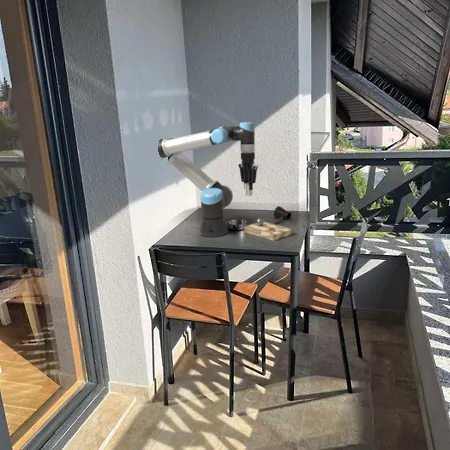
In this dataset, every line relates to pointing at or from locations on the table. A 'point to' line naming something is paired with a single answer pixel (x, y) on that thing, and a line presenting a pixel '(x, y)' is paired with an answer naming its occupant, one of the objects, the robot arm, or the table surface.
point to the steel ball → (259, 221)
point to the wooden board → (268, 231)
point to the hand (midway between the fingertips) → (248, 195)
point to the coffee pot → (281, 214)
